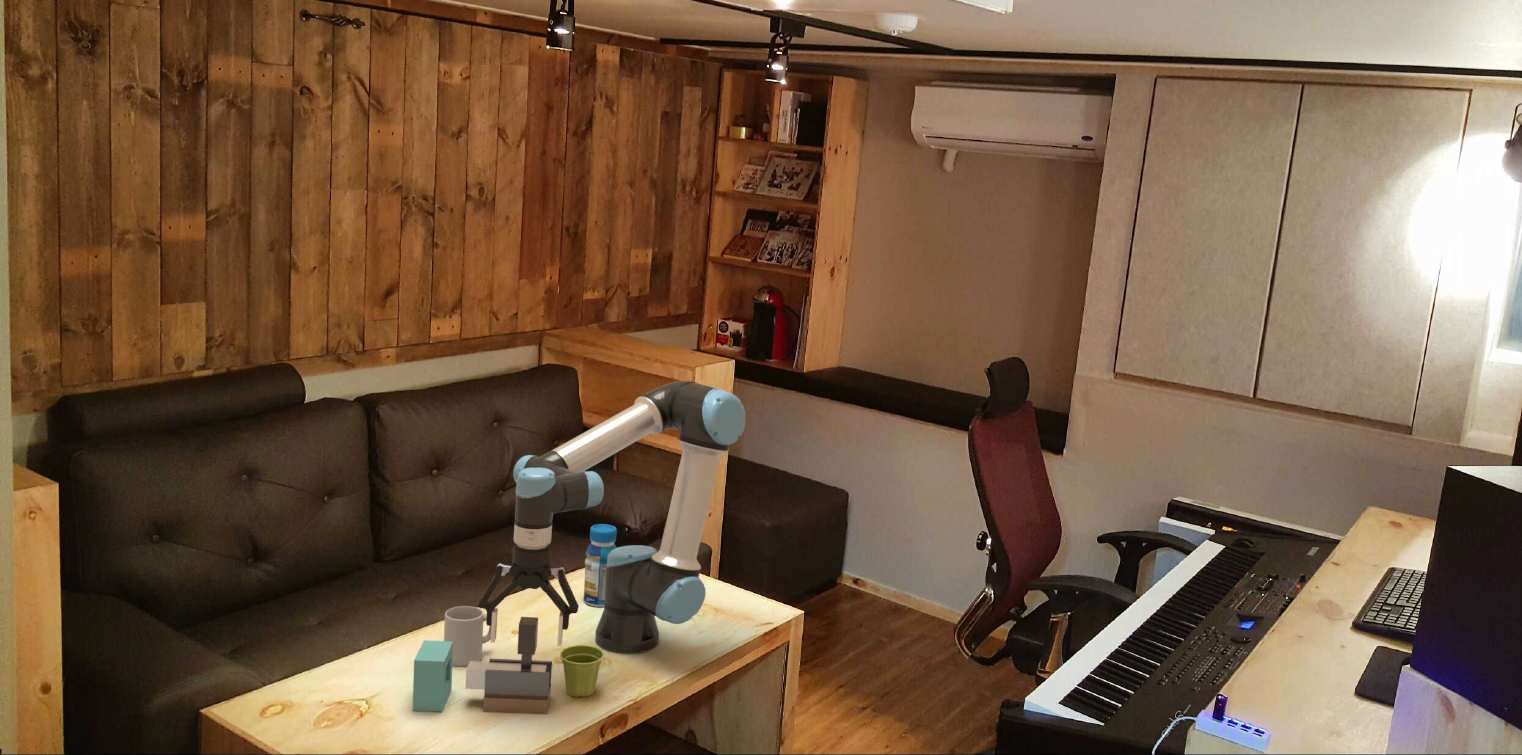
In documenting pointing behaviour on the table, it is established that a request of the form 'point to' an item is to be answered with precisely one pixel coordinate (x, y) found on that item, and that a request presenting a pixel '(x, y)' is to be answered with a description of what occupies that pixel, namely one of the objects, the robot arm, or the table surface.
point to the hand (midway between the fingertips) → (526, 641)
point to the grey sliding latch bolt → (525, 647)
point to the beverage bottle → (598, 563)
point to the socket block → (432, 675)
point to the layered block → (517, 689)
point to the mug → (465, 633)
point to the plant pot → (581, 669)
